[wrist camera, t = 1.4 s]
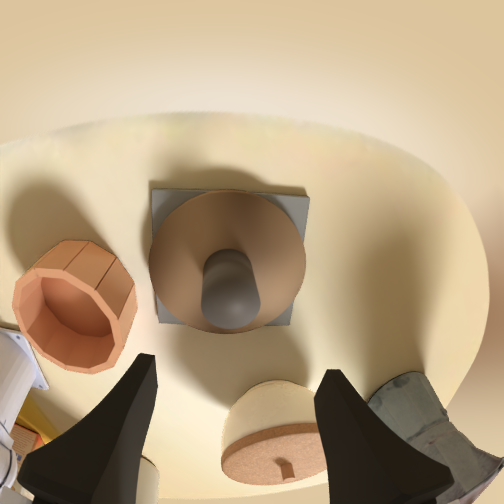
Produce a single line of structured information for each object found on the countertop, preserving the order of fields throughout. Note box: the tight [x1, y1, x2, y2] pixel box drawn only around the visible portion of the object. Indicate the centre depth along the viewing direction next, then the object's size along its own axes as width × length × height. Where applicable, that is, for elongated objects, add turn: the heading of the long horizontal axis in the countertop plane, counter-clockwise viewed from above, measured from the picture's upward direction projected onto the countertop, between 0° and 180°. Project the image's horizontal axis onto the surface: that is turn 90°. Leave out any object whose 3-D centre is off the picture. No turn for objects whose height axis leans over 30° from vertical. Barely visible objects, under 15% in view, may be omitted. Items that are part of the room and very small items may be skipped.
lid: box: [149, 189, 306, 334], centre depth 18 cm, size 10×10×5 cm
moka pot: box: [367, 372, 504, 504], centre depth 22 cm, size 10×15×20 cm, turn 166°
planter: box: [12, 240, 137, 374], centre depth 18 cm, size 9×9×4 cm
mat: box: [152, 189, 310, 326], centre depth 21 cm, size 10×10×1 cm
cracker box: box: [9, 423, 44, 501], centre depth 21 cm, size 14×6×21 cm, turn 163°
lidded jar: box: [221, 380, 327, 485], centre depth 23 cm, size 11×11×9 cm
